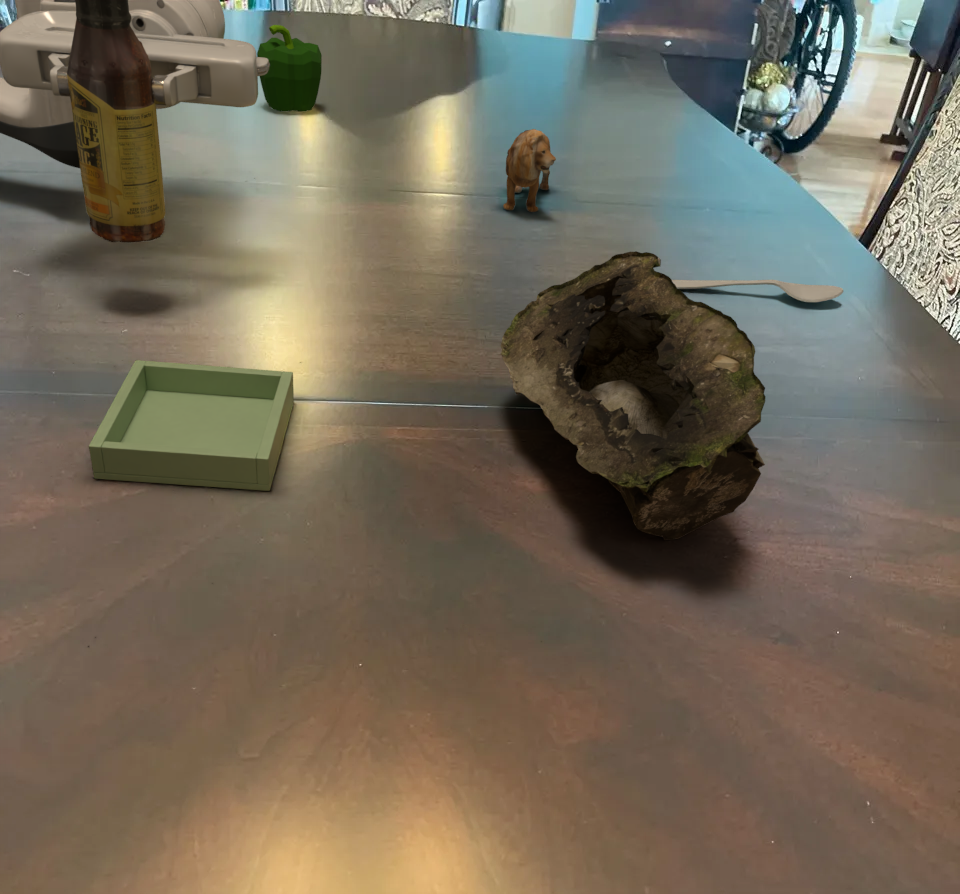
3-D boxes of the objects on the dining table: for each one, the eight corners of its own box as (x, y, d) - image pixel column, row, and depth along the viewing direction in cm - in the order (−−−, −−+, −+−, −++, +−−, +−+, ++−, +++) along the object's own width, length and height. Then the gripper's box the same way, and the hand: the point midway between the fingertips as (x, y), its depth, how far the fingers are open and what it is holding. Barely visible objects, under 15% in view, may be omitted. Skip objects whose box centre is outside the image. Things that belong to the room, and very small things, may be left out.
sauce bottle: (85, 223, 88) (42, -58, 76) (161, 219, 90) (131, -55, 78) (96, 250, 84) (52, -45, 71) (175, 245, 86) (147, -41, 73)
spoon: (843, 312, 103) (848, 296, 102) (635, 291, 103) (639, 274, 102) (834, 296, 107) (839, 280, 106) (632, 275, 106) (635, 259, 105)
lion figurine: (547, 225, 115) (559, 138, 109) (499, 220, 115) (508, 132, 109) (549, 183, 126) (560, 102, 120) (505, 178, 126) (514, 97, 120)
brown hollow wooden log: (680, 641, 70) (881, 503, 64) (566, 538, 62) (783, 371, 57) (580, 420, 90) (726, 301, 84) (484, 322, 82) (638, 184, 77)
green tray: (93, 478, 70) (88, 445, 68) (139, 390, 79) (135, 359, 78) (269, 491, 70) (268, 458, 69) (293, 402, 80) (293, 371, 78)
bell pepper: (315, 100, 145) (314, 18, 139) (327, 117, 140) (327, 32, 133) (254, 100, 143) (250, 16, 136) (264, 117, 137) (260, 30, 131)
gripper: (274, 99, 93) (250, 145, 83) (38, 78, 92) (-16, 121, 81) (271, 18, 89) (246, 55, 79) (24, -6, 88) (-35, 29, 77)
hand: (110, 89), depth 80 cm, fingers closed on sauce bottle, 6 cm apart
